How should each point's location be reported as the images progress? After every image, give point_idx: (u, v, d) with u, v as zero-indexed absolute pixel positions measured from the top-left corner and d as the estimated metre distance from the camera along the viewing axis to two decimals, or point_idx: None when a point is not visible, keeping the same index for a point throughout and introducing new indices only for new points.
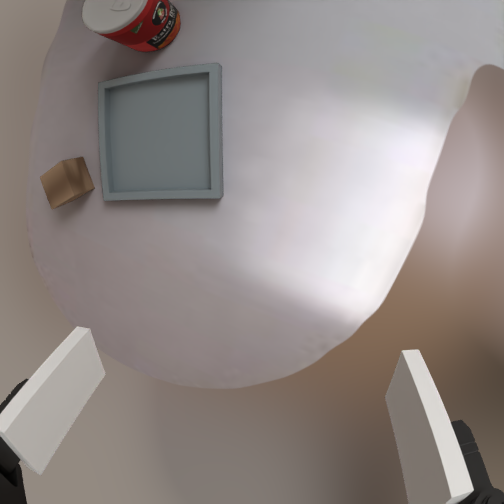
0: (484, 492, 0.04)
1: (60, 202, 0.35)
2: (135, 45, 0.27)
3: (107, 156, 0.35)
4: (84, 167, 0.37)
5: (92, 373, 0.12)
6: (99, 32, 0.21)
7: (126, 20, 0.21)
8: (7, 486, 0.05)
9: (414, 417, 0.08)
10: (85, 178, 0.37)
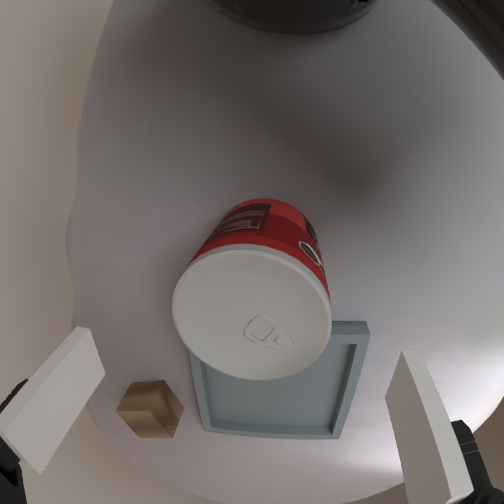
0: (484, 492, 0.04)
1: (152, 436, 0.30)
2: None
3: (207, 399, 0.30)
4: (169, 392, 0.32)
5: (92, 373, 0.12)
6: None
7: (289, 375, 0.15)
8: (7, 486, 0.05)
9: (414, 418, 0.08)
10: (173, 406, 0.32)
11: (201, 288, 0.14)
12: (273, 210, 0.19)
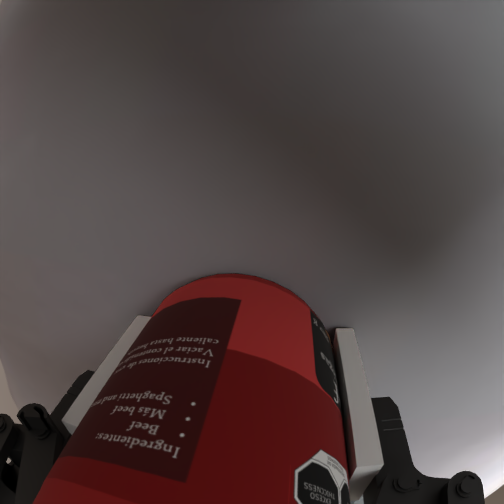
0: (393, 471, 0.06)
1: None
2: None
3: None
4: None
5: None
6: None
7: None
8: None
9: (340, 390, 0.10)
10: None
11: None
12: (241, 332, 0.08)
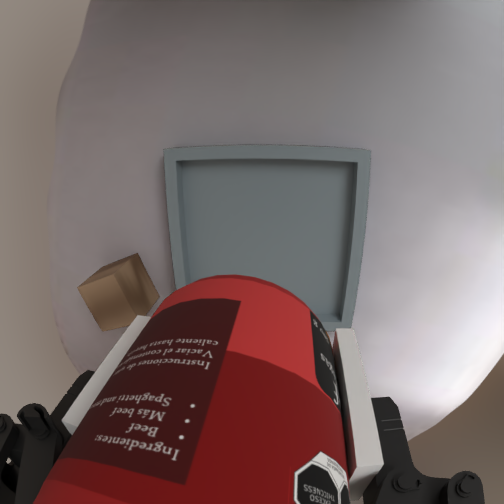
0: (393, 471, 0.06)
1: (116, 326, 0.26)
2: None
3: (185, 265, 0.27)
4: (143, 269, 0.29)
5: None
6: None
7: None
8: None
9: (340, 390, 0.10)
10: (146, 287, 0.29)
11: None
12: (240, 333, 0.08)
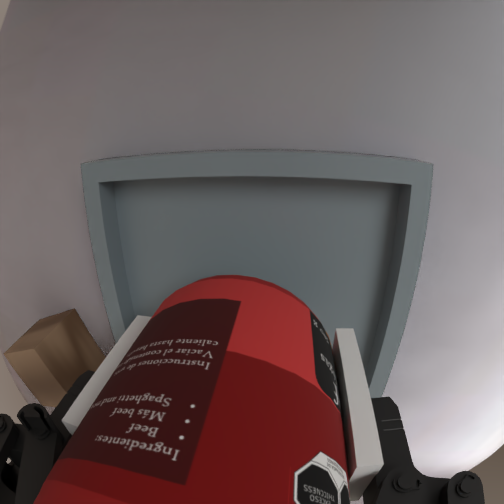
0: (393, 471, 0.06)
1: (55, 405, 0.16)
2: None
3: None
4: (83, 331, 0.19)
5: None
6: None
7: None
8: None
9: (340, 390, 0.10)
10: (89, 355, 0.19)
11: None
12: (240, 333, 0.08)
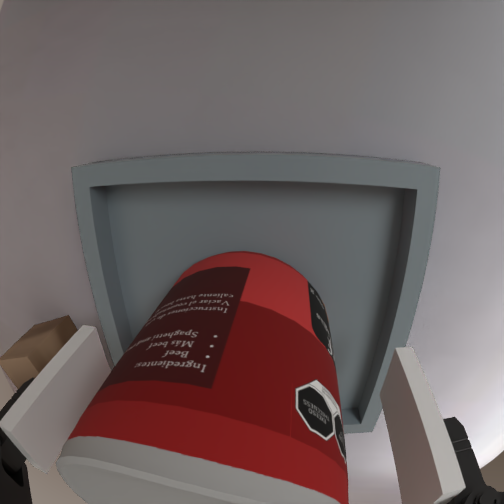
0: (476, 490, 0.04)
1: None
2: None
3: (126, 346, 0.16)
4: None
5: (98, 371, 0.12)
6: None
7: None
8: (13, 486, 0.05)
9: (406, 414, 0.08)
10: None
11: (97, 479, 0.05)
12: (250, 290, 0.10)
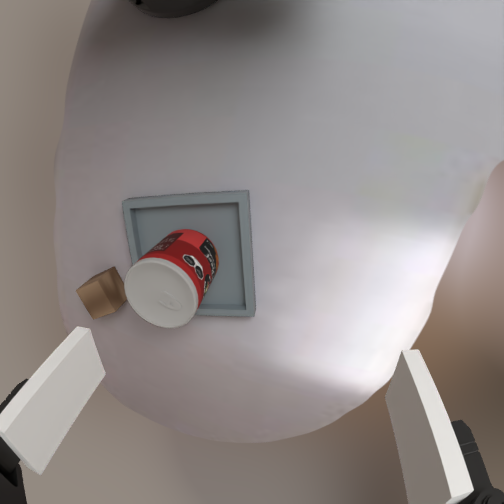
0: (484, 492, 0.04)
1: (101, 315, 0.40)
2: None
3: None
4: (118, 277, 0.42)
5: (92, 373, 0.12)
6: None
7: (182, 324, 0.30)
8: (7, 486, 0.05)
9: (414, 417, 0.08)
10: (120, 288, 0.42)
11: (136, 279, 0.29)
12: (181, 237, 0.34)
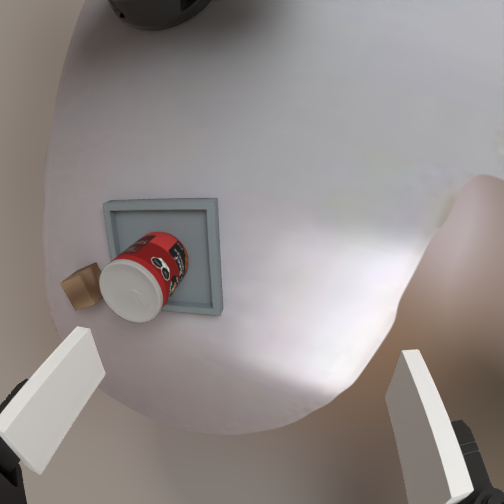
0: (484, 492, 0.04)
1: (83, 307, 0.42)
2: None
3: None
4: (99, 272, 0.45)
5: (92, 373, 0.12)
6: (125, 318, 0.33)
7: (149, 320, 0.33)
8: (7, 486, 0.05)
9: (414, 417, 0.08)
10: None
11: (109, 277, 0.32)
12: (153, 240, 0.37)
